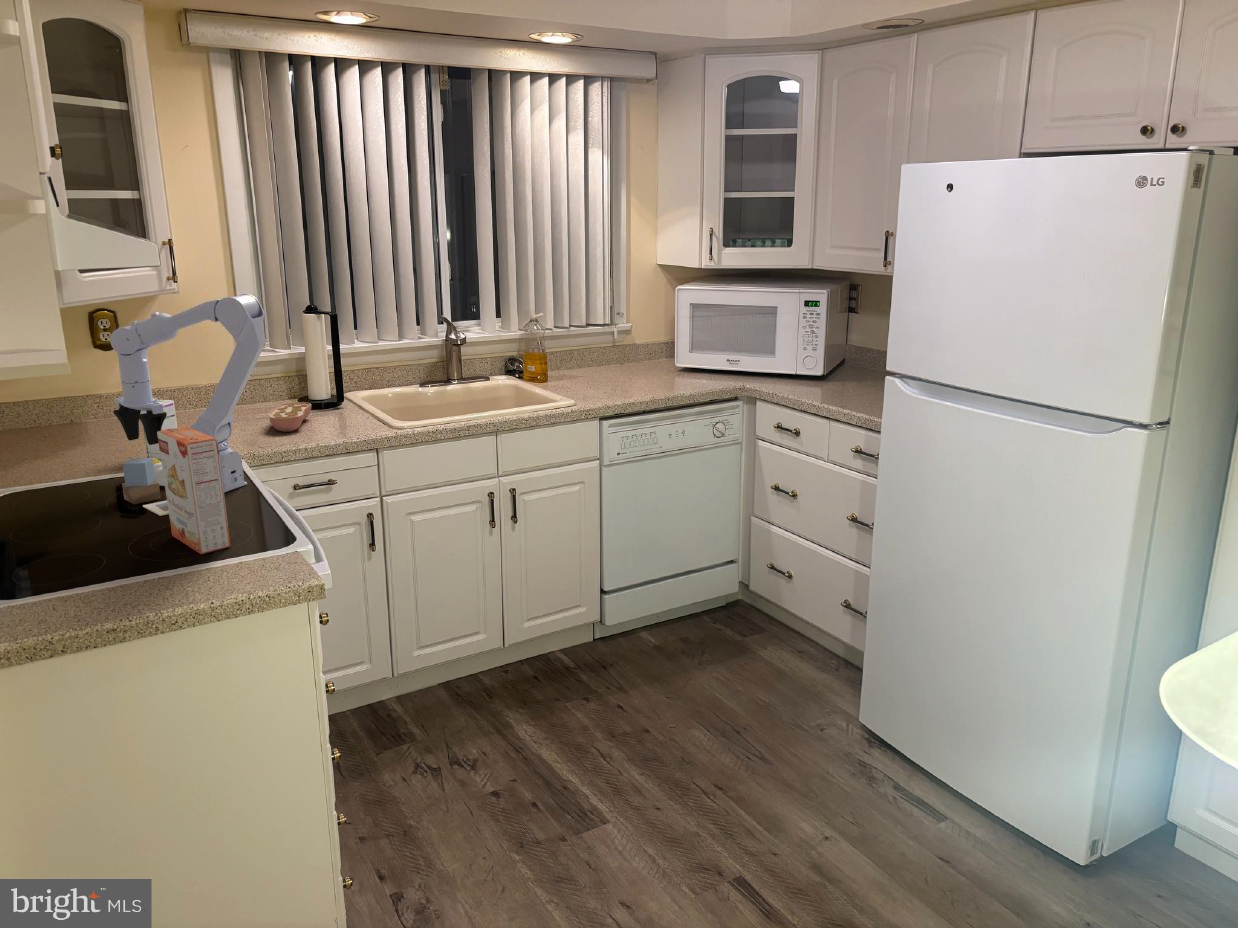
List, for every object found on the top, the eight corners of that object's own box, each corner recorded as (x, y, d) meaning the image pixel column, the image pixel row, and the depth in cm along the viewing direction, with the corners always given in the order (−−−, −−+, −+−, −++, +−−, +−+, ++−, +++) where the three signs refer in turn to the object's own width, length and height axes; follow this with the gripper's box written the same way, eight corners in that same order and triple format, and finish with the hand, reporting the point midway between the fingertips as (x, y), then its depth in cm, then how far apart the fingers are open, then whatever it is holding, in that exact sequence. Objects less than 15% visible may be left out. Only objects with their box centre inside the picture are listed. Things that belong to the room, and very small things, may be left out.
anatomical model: (301, 434, 260) (300, 417, 259) (264, 436, 259) (262, 418, 257) (314, 417, 282) (313, 401, 281) (280, 419, 280) (279, 402, 279)
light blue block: (155, 480, 202) (152, 457, 201) (147, 485, 198) (144, 463, 196) (133, 480, 201) (130, 458, 200) (125, 486, 197) (122, 463, 196)
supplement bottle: (161, 456, 215) (177, 464, 209) (162, 478, 217) (178, 487, 210) (136, 458, 212) (152, 466, 205) (137, 481, 213) (153, 490, 206)
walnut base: (160, 498, 201) (158, 483, 200) (134, 504, 197) (131, 488, 196) (150, 493, 204) (148, 478, 203) (124, 499, 200) (122, 483, 199)
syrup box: (182, 455, 237) (175, 399, 233) (165, 461, 231) (157, 404, 228) (163, 454, 238) (156, 398, 235) (146, 459, 233) (138, 403, 229)
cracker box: (169, 537, 176) (155, 430, 171) (202, 530, 180) (188, 425, 175) (198, 556, 167) (183, 442, 161) (232, 547, 171) (218, 437, 165)
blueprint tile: (189, 509, 193) (189, 507, 193) (160, 515, 189) (159, 513, 189) (172, 500, 199) (171, 498, 199) (142, 506, 195) (142, 505, 195)
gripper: (173, 382, 203) (180, 442, 207) (133, 375, 210) (141, 434, 214) (142, 386, 197) (150, 448, 201) (103, 380, 205) (111, 440, 208)
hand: (143, 441), depth 207 cm, fingers open, 7 cm apart
